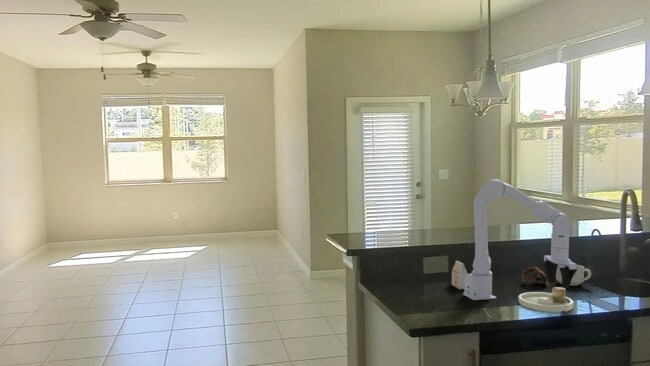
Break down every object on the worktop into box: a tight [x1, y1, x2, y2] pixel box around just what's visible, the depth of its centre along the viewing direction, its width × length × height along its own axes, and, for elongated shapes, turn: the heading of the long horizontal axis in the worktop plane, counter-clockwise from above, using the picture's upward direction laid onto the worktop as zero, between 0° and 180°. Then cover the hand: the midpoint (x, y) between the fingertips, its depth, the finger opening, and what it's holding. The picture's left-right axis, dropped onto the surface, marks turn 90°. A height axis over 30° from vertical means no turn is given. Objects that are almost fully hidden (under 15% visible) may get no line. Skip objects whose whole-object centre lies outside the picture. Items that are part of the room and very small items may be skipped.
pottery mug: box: [520, 266, 550, 288], centre depth 214 cm, size 12×10×8 cm
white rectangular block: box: [451, 260, 469, 290], centre depth 209 cm, size 4×7×10 cm, turn 10°
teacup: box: [555, 264, 592, 287], centre depth 212 cm, size 14×11×8 cm
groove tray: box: [518, 291, 575, 313], centre depth 185 cm, size 18×18×2 cm
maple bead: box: [551, 286, 567, 303], centre depth 186 cm, size 4×4×4 cm
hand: (558, 284), depth 186 cm, fingers open, 7 cm apart
